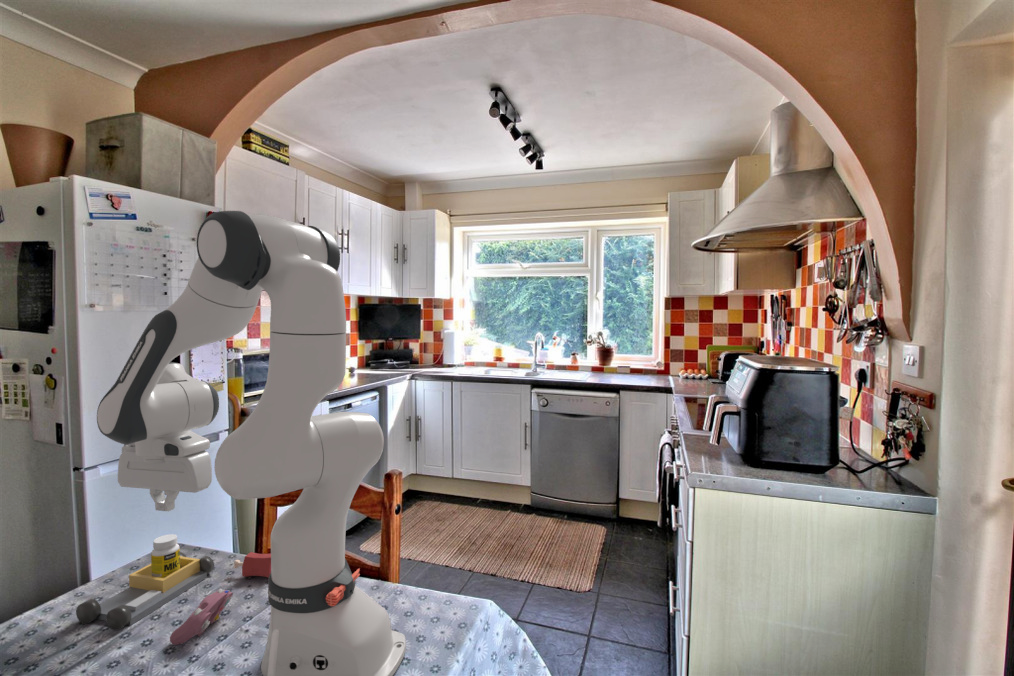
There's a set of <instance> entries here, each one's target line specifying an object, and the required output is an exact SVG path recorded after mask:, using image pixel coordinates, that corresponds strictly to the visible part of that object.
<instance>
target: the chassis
mask: <svg viewBox="0 0 1014 676" xmlns="http://www.w3.org/2000/svg"><path fill="white" fill-rule="evenodd" d="M214 569H215V561H214V560H213V559H212V558H211V557H210V556H209V555H205V556H202V557H201V558H194V557H188V556H187V555H186V554H185V553H183V552H182V551H180V569H179V570H177V571H175V572H174V573H172V574H170V575H169V576H167V577H165V578H158V577H152V569H151V563H149V564H147V565H145V566H144V567H141V568H140V569H138V570H136V571H134V572H132V573H130V574H129V575H128V578H129V581H128V582H129V586H128V588H126V589H124V590H122V591H120V592H119V593H117V594H115V595H113V596H111V597H110V598H107V599H105V600H104V601H101V603H99V602H98V601H97V600H96V599H93V598H90V599H88V600H86V601H84V602H83V603H82V602H81V604H79V605H77V606H76V610H75V615H76V618H77V620H78V621H79V622H80V623H82V624H83V625H87V624H89V623H91V622H92V621H94V620H101V621H106V624H107V626H108V627H109V628H110V629H112V630H113V631H118V630H121V629H122V628H123V627H125V626H133V625H134V624H136V623H137V622H139V621H140V620H142V619H144V618H145V617H146V616H148V615H150V614H151V613H153V612H155V611H156V610H158V609H159V608H161V607H163V606H164V605H166V604H167V603H169V602H170V601H172V600H173V599H175V598H176V597H177V598H178V596H180V595H181V594H183V593H184V592H187V590H189V589H191V588H193V587H194V586H196V585H198V584H199V583H201V582H202V581H204V580H205V579H207V578H208V575H209V574H210V573H212V572H213V571H214ZM195 584H196V585H195ZM192 586H193V587H192Z"/></svg>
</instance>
